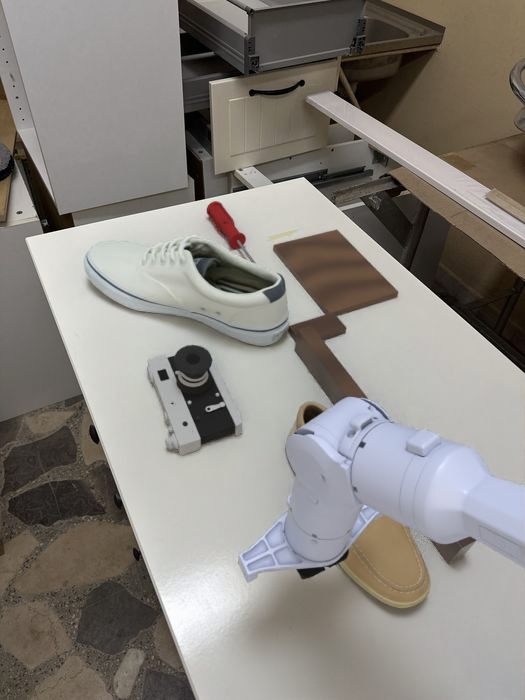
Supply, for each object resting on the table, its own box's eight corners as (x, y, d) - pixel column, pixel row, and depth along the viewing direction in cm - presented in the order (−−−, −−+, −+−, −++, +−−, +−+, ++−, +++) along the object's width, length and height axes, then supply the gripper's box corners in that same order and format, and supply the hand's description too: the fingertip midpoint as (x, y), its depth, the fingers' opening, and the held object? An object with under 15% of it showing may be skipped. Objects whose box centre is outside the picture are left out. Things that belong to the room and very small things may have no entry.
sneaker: (113, 251, 94) (102, 188, 85) (301, 306, 87) (311, 243, 78) (71, 294, 85) (54, 229, 76) (276, 358, 79) (284, 295, 70)
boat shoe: (380, 631, 54) (401, 606, 48) (261, 448, 68) (266, 411, 62) (443, 589, 57) (469, 560, 51) (317, 423, 71) (327, 386, 66)
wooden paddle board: (583, 488, 67) (602, 470, 64) (447, 564, 59) (461, 548, 56) (336, 234, 102) (339, 214, 99) (230, 260, 95) (230, 240, 91)
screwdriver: (259, 295, 89) (260, 278, 86) (205, 217, 103) (205, 201, 101) (277, 290, 90) (279, 274, 87) (221, 213, 105) (221, 198, 102)
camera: (246, 403, 64) (166, 427, 61) (243, 435, 69) (170, 459, 66) (204, 321, 73) (133, 338, 70) (205, 354, 78) (139, 372, 75)
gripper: (367, 439, 49) (341, 507, 59) (224, 500, 44) (222, 562, 53) (414, 504, 45) (378, 565, 54) (262, 579, 39) (252, 631, 49)
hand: (303, 568), depth 54 cm, fingers closed
